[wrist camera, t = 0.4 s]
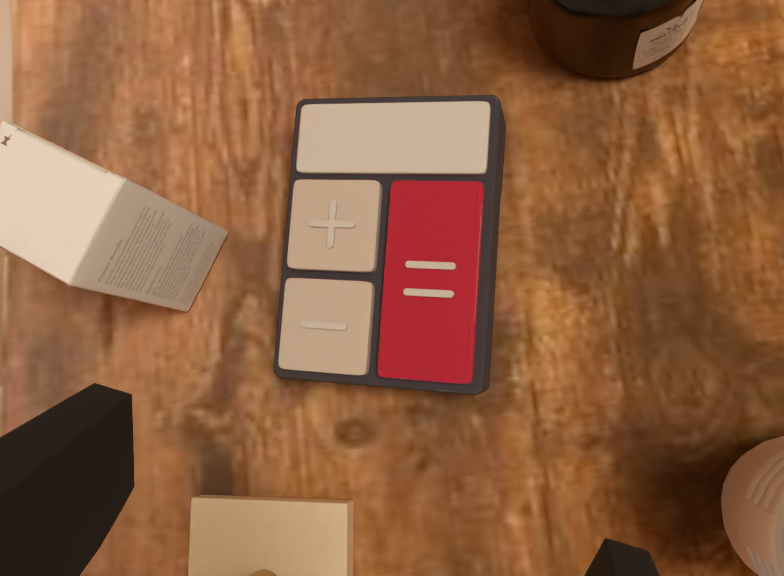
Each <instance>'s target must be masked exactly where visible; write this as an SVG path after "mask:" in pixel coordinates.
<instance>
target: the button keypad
mask: <svg viewBox="0 0 784 576" xmlns="http://www.w3.org/2000/svg"><path fill="white" fill-rule="evenodd" d="M505 130H506V124H505V119H504V115H503V111H502V107H501V103H500V100H499V98H498V97H496V96H494V95H471V96H423V97H376V98H328V99H303V100H301V101H300V102H299V103H298V104H297V108H296V117H295V129H294V140H293V152H292V163H291V175H290V186H289V198H288V209H287V221H286V232H285V244H284V255H283V267H282V278H281V290H280V301H279V313H278V324H277V336H276V347H275V359H274V372H275V374H276V376H278V377H280V378H287V379H298V380H309V381H320V382H332V383H343V384H354V385H366V386H377V387H388V388H400V389H411V390H422V391H434V392H445V393H456V394H468V395H476V394H479V393H482V392H484V391H486V390H487V388H488V386H489V379H490V363H491V346H492V329H493V313H494V296H495V279H496V263H497V246H498V229H499V212H500V197H501V189H502V180H503V164H504V147H505Z"/></svg>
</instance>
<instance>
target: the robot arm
mask: <svg viewBox="0 0 784 576" xmlns="http://www.w3.org/2000/svg"><path fill="white" fill-rule="evenodd" d="M133 488H134V455H133V420H132V394H129V393H125V392H122V391H119V390H115V389H112V388H109V387H106V386H102V385H99V384H96V383H94V384H92V385H90V386H89V387H87V388H85V389H83V390H81V391H80V392H78V393H76V394H74V395H73V396H71V397H69V398H67V399H66V400H64V401H62V402H60V403H59V404H57V405H55V406H54V407H52V408H50V409H48V410H47V411H45V412H43V413H42V414H40V415H38V416H36V417H35V418H33V419H31V420H30V421H28V422H26V423H24V424H23V425H21V426H19V427H17V428H16V429H14V430H12V431H11V432H9V433H7V434H5V435H4V436H2V437H0V576H79V575H80V574H81V573H82V571H83V570H84V568H85V567H86V566H87V564H88V563H89V562H90V560H91V559H92V557H93V556H94V555H95V553H96V552H97V550H98V549H99V548H100V546H101V544H102V543H103V541H104V539H105V537H106V536H107V534H108V532H109V531H110V529H111V527H112V526H113V524H114V522H115V521H116V519H117V517H118V515H119V513H120V512H121V510H122V508H123V506H124V504H125V503H126V501H127V499H128V497H129V495H130V494H131V492H132V490H133ZM585 576H660V575H659V572H658V570H657V568H656V565H655V563H654V561H653V558H652V557H651V555H650V553H649V551H647V550H644V549H640V548H637V547H634V546H630V545H627V544H624V543H620V542H617V541H614V540H611V539H607V538H605V539H604V541H603V543H602V545H601V547H600V548H599V550H598V552H597V554H596V556H595V558H594V559H593V561H592V563H591V565H590V567H589V568H588V570H587V572H586V574H585Z"/></svg>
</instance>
